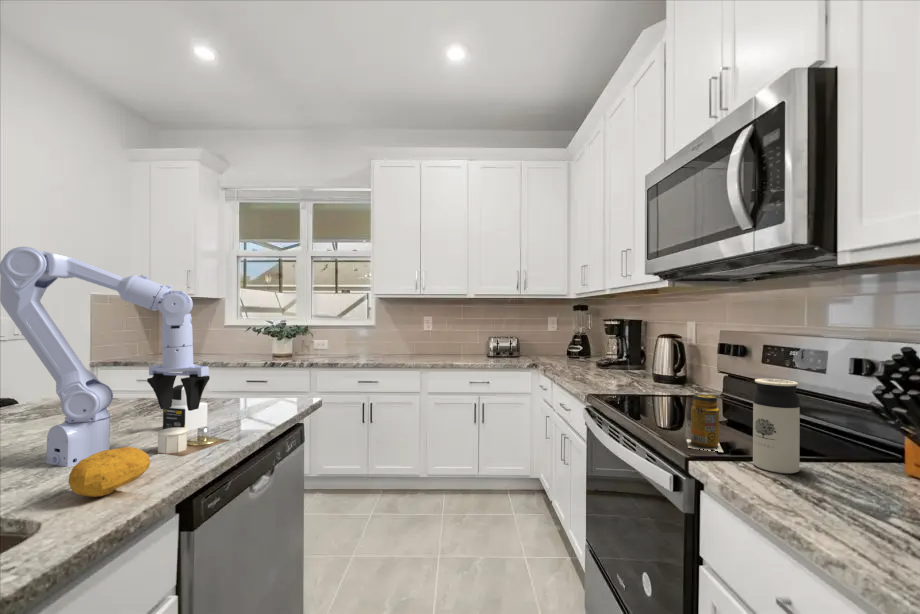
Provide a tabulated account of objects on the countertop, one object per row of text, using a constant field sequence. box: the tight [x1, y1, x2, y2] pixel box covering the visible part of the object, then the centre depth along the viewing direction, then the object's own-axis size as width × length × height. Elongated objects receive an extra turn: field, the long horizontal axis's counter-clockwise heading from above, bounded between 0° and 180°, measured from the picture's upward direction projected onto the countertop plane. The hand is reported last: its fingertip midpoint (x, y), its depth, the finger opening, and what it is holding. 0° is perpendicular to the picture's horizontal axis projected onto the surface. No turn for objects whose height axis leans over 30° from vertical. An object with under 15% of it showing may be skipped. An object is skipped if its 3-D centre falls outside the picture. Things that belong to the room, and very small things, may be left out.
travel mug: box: [752, 378, 801, 475], centre depth 97 cm, size 8×8×18 cm
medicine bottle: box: [162, 384, 209, 432], centre depth 119 cm, size 7×7×12 cm
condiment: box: [686, 393, 724, 453], centre depth 112 cm, size 7×8×12 cm
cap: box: [157, 427, 189, 455], centre depth 100 cm, size 5×5×4 cm
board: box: [149, 436, 231, 457], centre depth 103 cm, size 13×9×1 cm
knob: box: [187, 426, 220, 446], centre depth 106 cm, size 6×6×3 cm
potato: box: [68, 446, 151, 498], centre depth 80 cm, size 8×14×7 cm, turn 172°
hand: (179, 408), depth 101 cm, fingers open, 7 cm apart
